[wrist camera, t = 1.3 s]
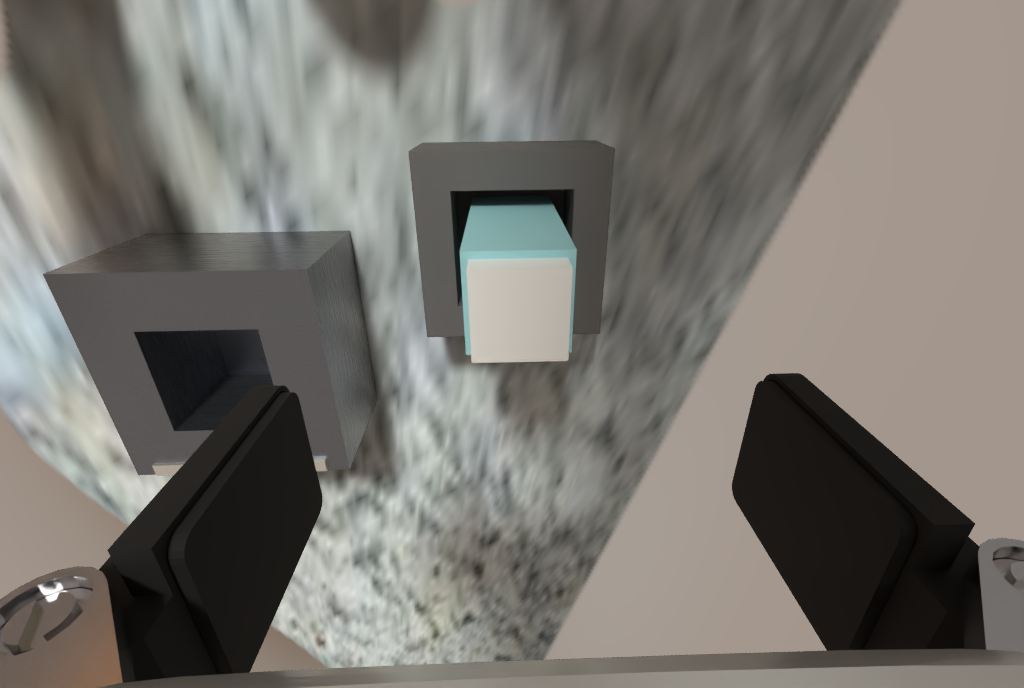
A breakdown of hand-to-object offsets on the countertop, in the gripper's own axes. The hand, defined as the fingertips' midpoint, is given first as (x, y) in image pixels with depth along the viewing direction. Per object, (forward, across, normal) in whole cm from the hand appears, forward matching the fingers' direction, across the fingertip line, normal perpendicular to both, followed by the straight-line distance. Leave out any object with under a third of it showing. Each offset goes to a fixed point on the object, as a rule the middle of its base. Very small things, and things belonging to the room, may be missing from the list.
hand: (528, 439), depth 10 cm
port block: (+16, +13, +4) cm, 21 cm away
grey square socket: (+16, 0, -1) cm, 16 cm away
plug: (+15, 0, -1) cm, 15 cm away
